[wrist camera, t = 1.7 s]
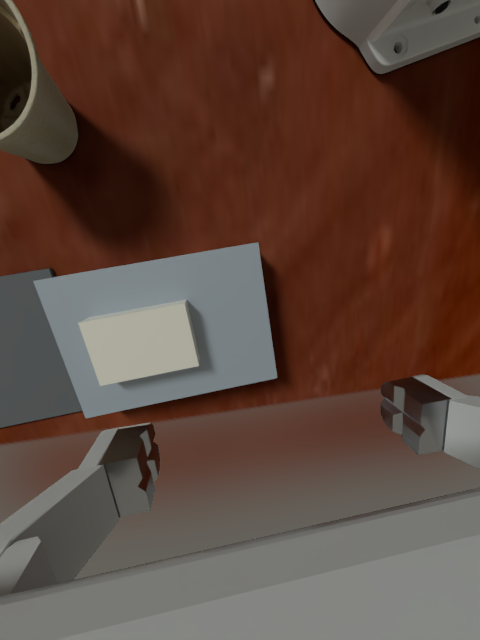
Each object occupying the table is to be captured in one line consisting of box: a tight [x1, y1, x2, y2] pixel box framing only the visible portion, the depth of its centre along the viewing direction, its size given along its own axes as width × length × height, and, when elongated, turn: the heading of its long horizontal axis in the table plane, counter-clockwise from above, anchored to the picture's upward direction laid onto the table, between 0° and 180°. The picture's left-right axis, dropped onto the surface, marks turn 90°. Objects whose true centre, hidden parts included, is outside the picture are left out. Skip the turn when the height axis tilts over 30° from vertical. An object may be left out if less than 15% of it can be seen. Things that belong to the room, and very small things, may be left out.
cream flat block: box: [78, 300, 200, 386], centre depth 23 cm, size 9×6×2 cm, turn 99°
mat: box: [0, 268, 83, 428], centre depth 27 cm, size 12×16×1 cm
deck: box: [33, 242, 277, 418], centre depth 26 cm, size 20×14×4 cm
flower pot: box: [0, 0, 78, 164], centre depth 18 cm, size 9×9×9 cm
